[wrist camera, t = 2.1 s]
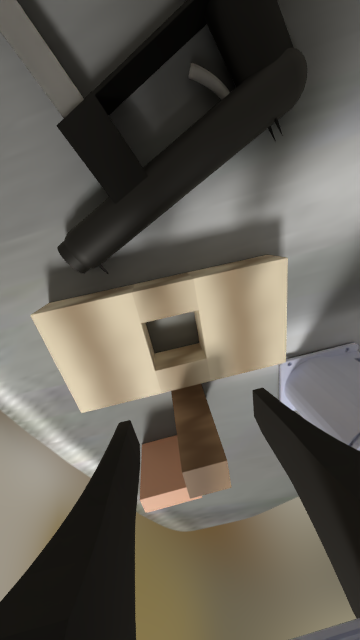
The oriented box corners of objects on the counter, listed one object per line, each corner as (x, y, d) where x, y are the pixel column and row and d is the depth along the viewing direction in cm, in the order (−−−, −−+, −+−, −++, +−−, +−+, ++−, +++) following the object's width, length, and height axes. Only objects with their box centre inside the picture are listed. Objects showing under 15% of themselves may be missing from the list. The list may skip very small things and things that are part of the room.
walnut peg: (200, 381, 23) (227, 460, 15) (204, 403, 25) (231, 487, 16) (170, 388, 23) (181, 472, 15) (176, 410, 25) (189, 498, 16)
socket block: (267, 254, 19) (287, 257, 16) (269, 347, 23) (285, 362, 20) (48, 303, 18) (30, 315, 15) (90, 390, 22) (81, 413, 19)
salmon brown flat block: (188, 431, 26) (198, 484, 21) (191, 444, 27) (202, 497, 22) (142, 443, 26) (140, 500, 20) (147, 456, 27) (146, 512, 21)
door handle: (-149, 32, 10) (90, 290, 15) (178, -379, 8) (332, 96, 13) (-76, 83, 13) (102, 283, 18) (172, -196, 11) (298, 126, 16)
